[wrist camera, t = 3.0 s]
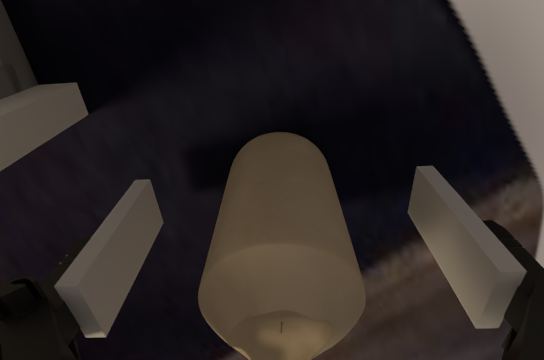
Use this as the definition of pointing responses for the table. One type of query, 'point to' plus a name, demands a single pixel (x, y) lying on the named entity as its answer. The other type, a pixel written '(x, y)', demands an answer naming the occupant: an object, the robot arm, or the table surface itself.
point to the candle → (281, 255)
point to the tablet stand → (29, 101)
